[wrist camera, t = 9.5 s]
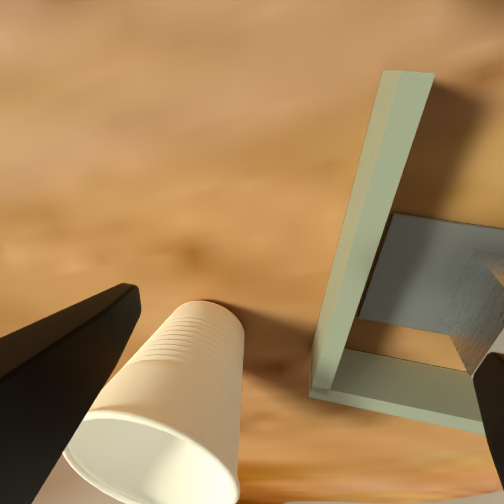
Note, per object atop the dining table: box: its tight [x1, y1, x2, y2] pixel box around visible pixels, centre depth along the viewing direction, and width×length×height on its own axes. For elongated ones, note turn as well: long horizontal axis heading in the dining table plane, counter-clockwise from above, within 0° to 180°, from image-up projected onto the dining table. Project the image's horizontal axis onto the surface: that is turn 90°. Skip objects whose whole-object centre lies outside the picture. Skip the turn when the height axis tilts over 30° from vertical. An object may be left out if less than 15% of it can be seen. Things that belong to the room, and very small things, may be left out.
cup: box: [63, 301, 245, 504], centre depth 21 cm, size 10×10×11 cm
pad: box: [358, 213, 504, 335], centre depth 20 cm, size 8×11×1 cm
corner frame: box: [309, 70, 485, 435], centre depth 17 cm, size 20×16×4 cm
